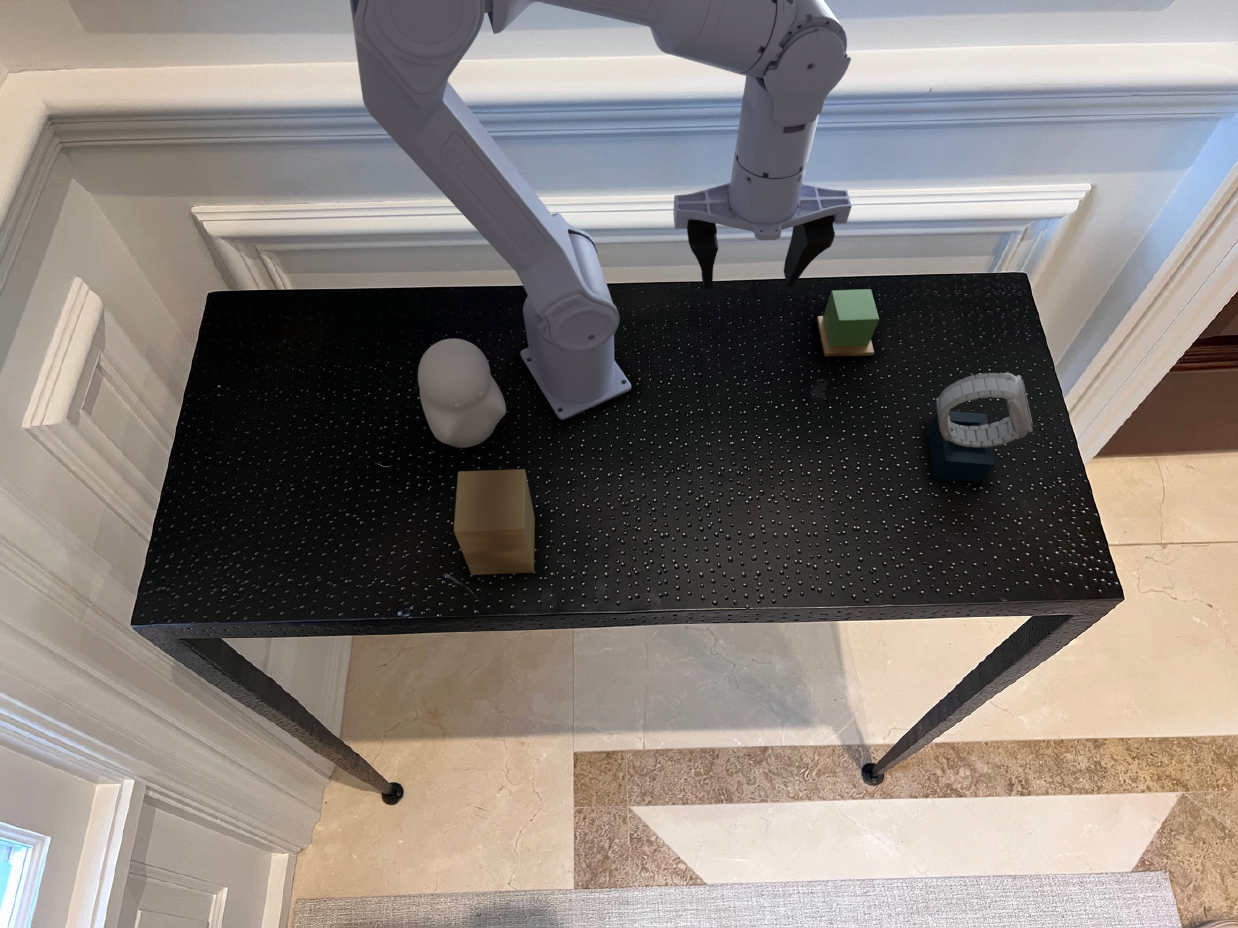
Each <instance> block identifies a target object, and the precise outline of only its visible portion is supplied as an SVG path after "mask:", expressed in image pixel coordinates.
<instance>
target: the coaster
mask: <svg viewBox="0 0 1238 928" xmlns="http://www.w3.org/2000/svg"><path fill="white" fill-rule="evenodd" d="M823 316H824V315H818V316H817V318H816V323H817V327H818V332H819V337H820V342H821V347H822V352H823V356H824V357H857V356H858V357H859V356H860V357H861V356H873V355H874V354H875V350H874V347H873V342H872V339H871V340H870V343H869V345H867V346H839V347H830V345H829V341H828V337H827V332H826V328H825V324H824V320H823Z"/></svg>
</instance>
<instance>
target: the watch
mask: <svg viewBox="0 0 1238 928" xmlns="http://www.w3.org/2000/svg"><path fill="white" fill-rule="evenodd" d="M986 398H987V399H988V398H998V399H1001V398H1002V399H1005V401H1006V405H1007V410H1008V414H1009V416H1007V417H1005V418H1003V419H1001V420H999V421H994V422H991V423H989V421H988V416H987V415H988V414H987V413H981V412H980V413H979V412H966V411H965V412H964V411H952V410H951V409H953V408H954V407H956V406H958V405H960V404H962V403H965V402H968V401H973V400H978V399H986ZM935 403H936V404H935V405H936V414H935V416H934V418H933V419H932V421H931V423H930V424H929V426H928V427H927V435H928V443H929V451H930V459H931V469H932V476H933V479H937V480H948V481H961V482H971V483H972V482H973V483H982V482H983V481H984V480H985V478H987V476H988V475H989V473H990V472H991V471H992V470H993V469H994V467H995V466H996V462H995V456H994V451H993V447H996V446H1001V445H1004V444H1007V443H1010V442H1012V441H1014V440H1017V439H1023V438H1024V437H1025V436H1027V433H1033V431H1034V427H1033V426H1034V425H1033V420H1032V415H1031V409H1030V405H1029V401H1028V395H1027V392H1026V387H1025V383H1024V380H1023V377H1022V376H1021V374H1019V375H1015V374H1013V373H1010V372H1004V373H999V372H988V373H987V372H985V373H977V374H975V375H974V374H972V375H969V376H967V377H964V378H962V379H959V380H956V381H955V382H954V383H951V384H950V385H948V386H947V387H946V388H945V389H944V390H943V391H941V393H940V395H939V396H938V397H937V398H936V401H935Z"/></svg>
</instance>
